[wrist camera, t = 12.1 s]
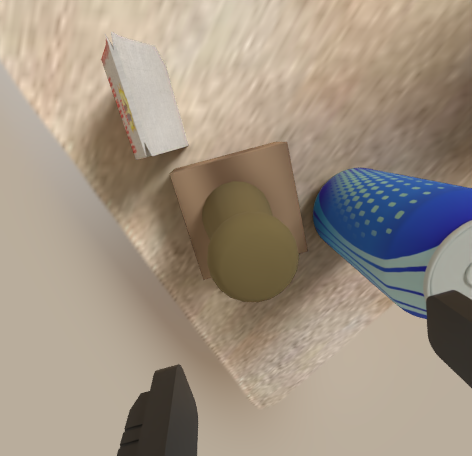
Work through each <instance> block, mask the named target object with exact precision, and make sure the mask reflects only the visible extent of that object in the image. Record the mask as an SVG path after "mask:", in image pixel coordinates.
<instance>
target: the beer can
mask: <svg viewBox="0 0 472 456" xmlns="http://www.w3.org/2000/svg"><path fill="white" fill-rule="evenodd" d="M313 221H314V225H315V228H316V231H317V232H318V234H319V236H320V237H321V238H322V239H323V240H324V241H325V242H326V243H327V244H328V245H329V246H330V247H332V248H333V249H334V250H335V251H336V252H337V253H338V254H340V255H341V256H342V257H343V258H344V259H345V260H346V261H348V262H349V263H350V264H351V265H352V266H353V267H354V268H356V269H357V270H358V271H359V272H360V273H361V274H362V275H363V276H365V277H366V278H367V279H368V280H369V281H370V282H371V283H373V284H374V285H375V286H376V287H377V288H378V289H379V290H381V291H382V292H383V293H384V294H385V295H386V296H387V297H389V298H390V299H391V300H392V301H393V302H394V303H395V304H397V305H398V306H399V307H400V308H402V309H403V310H404V311H406V312H408V313H410V314H412V315H414V316H417V317H420V318H425V319H427V311H426V299H427V298H428V297H429V296H432V295H435V294H439V293H443V292H446V291H450V290H456V291H458V292H460V293H462V294H463V295H465V296H467V297H468V298H470V299H472V188H467V187H462V186H457V185H451V184H446V183H441V182H436V181H430V180H425V179H420V178H415V177H409V176H404V175H399V174H394V173H388V172H383V171H378V170H373V169H367V168H352V169H348V170H345V171H342V172H340V173H338V174H336V175H335V176H333V177H332V178H331V179H329V180H328V181H327V182H326V183H325V184H324V186H323V187H322V188H321V190H320V191H319V193H318V195H317V197H316V200H315V203H314V207H313Z"/></svg>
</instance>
